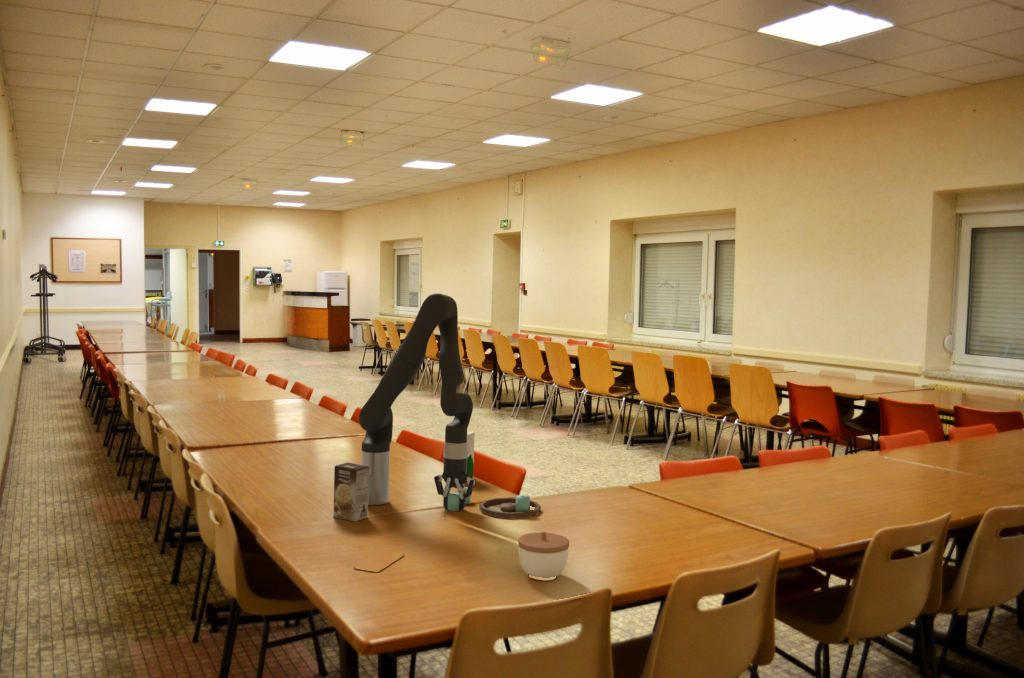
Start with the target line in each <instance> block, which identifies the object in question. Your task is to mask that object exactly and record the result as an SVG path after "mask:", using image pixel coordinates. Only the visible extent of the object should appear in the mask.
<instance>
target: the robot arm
mask: <svg viewBox="0 0 1024 678" xmlns="http://www.w3.org/2000/svg"><path fill="white" fill-rule="evenodd" d="M458 317H459V316H458V306H457V302H456V300H455V299H454V298H453V297H451V296H450V295H447V294H442V293H440V292H439V293H436V292H434V293H431V294H429V295H428V296H426V298H425V299H424V300H423V302H422V304H421V306H420V308H419V310H418V312H417V314H416V317H415V319H414V322H413V323H412V325H411V327H410V329H409V330H408V332H407V334H406V336H405V337H404V339H403V341H402V342H401V345H400V346H399V348H397V351H396V353H395V354H394V355H393V358H392V359H391V361H390V363H389V365H388V366H387V368H386V370H385V372H384V373H383V375H382V377H381V379H380V381H379V383H378V385H377V386H376V388H375V390H374V391H373V393H372V394H371V395H370V396H369V398H368V399H367V401H366V402H365V403H364V405H363V406H362V408H361V409H360V410H359V414H358V422H359V425H360V427H361V428H362V430H364V431H365V435H364V438H363V440H362V441H361V457H360V458H361V462H360V463H361V464H360V465H364V466H369V481H368V506H379V505H384V504H388V503H389V502H390V500H389V499H390V459H391V458H390V452H391V451H390V450H391V443H392V440H393V426H394V414H393V411H392V410H393V409H392V405H393V404H394V403H395V401H396V400H397V398H398V397H399V395H401V393H403V392H404V390H405V389H406V388H407V387H408V386H409V384H410V383H411V382H412V381H413V380H414V378H415V377H416V376H417V374H418V372H419V371H420V369H421V367H422V365H423V364H424V361H425V359H426V355H427V349H428V344H429V341H430V338H431V336H432V334H433V333H434V331H435V329H437V327H438V330H439V335H440V347H439V353H438V364H439V372H440V379H441V388H440V399H439V401H440V402H439V403H440V404H439V405H440V408H441V410H442V412H443V414H444V415H445V416H447V417H453V420H452V421H451V422H449V423H447V424H446V426H445V429H444V432H445V433H444V434H445V435H444V446H443V453H442V455H443V465H442V466H443V469H442V470H443V472H442V474H438V475H435V476H434V477H433V479H434V484H435V488H436V491H437V495H441V496H442V497H443V499H442V500H443V503H442V506H443V508H444V509H446V510H447V501H448V493H451V489H452V488H454V489H457V490H458V492H459V495H460V499H459V511H463V510H464V509H465V508H466V504H465V499H466V498H468V497H469V496H472V493H473V491H474V487H475V485H476V483H477V479H476V478H474V477H473V478H469V477H468V475H467V451H468V450H467V431H468V428H469V425H470V421H471V418H472V414H473V410H474V403H473V399H472V397H471V395H470V394H469V393H466V392H461V393H460V392H459V393H458V392H457V390H458V389H457V388H458V386H460V385H462V384H463V383H464V373H463V367H462V361H461V354H460V346H459V329H458V328H459V323H458V322H459V321H458V319H459V318H458ZM443 481H444V482H445V485H443ZM466 481H467V482H466ZM465 483H467V485H468V486H467V487H468V489H467V492H466V493H465V487H466V486H465ZM457 490H456V491H457Z"/></svg>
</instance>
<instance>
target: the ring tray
mask: <svg viewBox="0 0 1024 678" xmlns="http://www.w3.org/2000/svg"><path fill="white" fill-rule="evenodd" d="M530 506H532V507H535V509H534V510H530V511H526V512H515V511H516V497H495V498H490V499H485V500H483V501H482V502H481V503H479V508H478V509H479V511H480V512H481V514H483V515H486V516H488V517H492V518H499V519H511V518H516V519H526V518H525V517H527V518H530V517H529V516H532V517H534V516H533V515H535V516H537V515H538V514H539V513H540V512H541V511H540V510H541V508H542V507H541V505H540V504H539V503H538V502H537V501H533V500H530ZM539 511H540V512H539ZM538 512H539V513H538ZM537 513H538V514H537ZM536 514H537V515H536Z"/></svg>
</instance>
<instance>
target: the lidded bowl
mask: <svg viewBox="0 0 1024 678" xmlns="http://www.w3.org/2000/svg"><path fill="white" fill-rule="evenodd" d="M517 544H518V545H517V546H518V559H519V563H520V567H521V568H522V570H523V571H524V572H525V573H526V574H527V575H528V574H529V575H531V576H535V577H542V578H550V577H555V576H557V577H558V576H560V574H562V573H563V571H564V570H565V568H566V565H567V563H568V560H569V549H570V540H569V539H568V538H567V537H566V536H564V535H561V534H556V533H551V532H547V531H541V532H529V533H525V534H523V535H521V536H519V537H518V539H517Z"/></svg>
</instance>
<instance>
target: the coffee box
mask: <svg viewBox="0 0 1024 678" xmlns="http://www.w3.org/2000/svg"><path fill="white" fill-rule="evenodd" d="M333 471H334V473H333V474H334V477H333V481H334V483H333V518H337V519H341V520H346V521H350V522H354V521H355V522H357V521H360V520H364V519H367V518H368V512H369V510H368V509H369V508H368V507H369V505H368V481H369V466H364V465H361V464H359V463H352V462H344V463H340V464H336V465H334V470H333Z"/></svg>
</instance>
